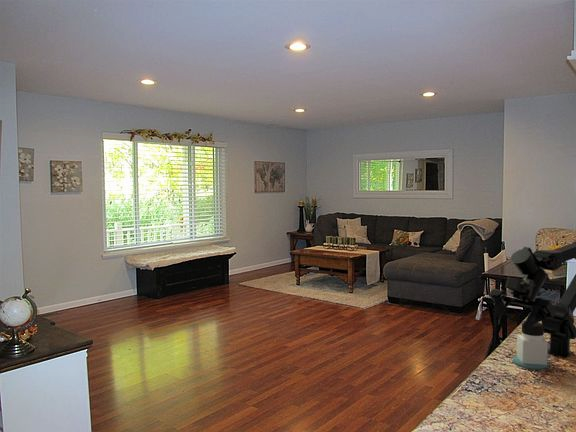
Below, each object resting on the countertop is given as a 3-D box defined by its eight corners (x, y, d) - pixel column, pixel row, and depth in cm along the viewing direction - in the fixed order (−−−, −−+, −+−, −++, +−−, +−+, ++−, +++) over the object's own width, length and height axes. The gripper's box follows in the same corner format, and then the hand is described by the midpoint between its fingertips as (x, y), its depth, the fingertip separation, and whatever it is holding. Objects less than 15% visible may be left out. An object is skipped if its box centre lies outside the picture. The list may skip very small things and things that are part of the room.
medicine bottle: (547, 365, 147) (549, 326, 146) (522, 364, 148) (523, 325, 148) (540, 357, 154) (541, 319, 153) (516, 355, 155) (517, 318, 155)
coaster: (522, 355, 158) (522, 352, 158) (554, 364, 150) (554, 361, 150) (506, 362, 152) (506, 359, 152) (538, 372, 144) (538, 369, 144)
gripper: (493, 263, 155) (470, 302, 150) (551, 272, 139) (528, 316, 134) (507, 285, 160) (485, 323, 154) (565, 296, 144) (543, 339, 139)
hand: (509, 325), depth 145 cm, fingers open, 9 cm apart
